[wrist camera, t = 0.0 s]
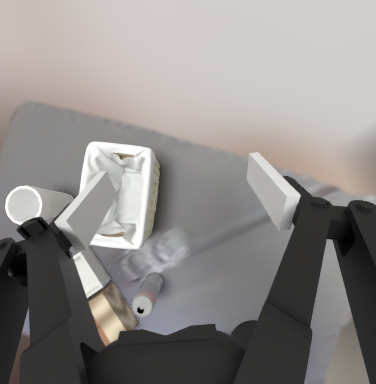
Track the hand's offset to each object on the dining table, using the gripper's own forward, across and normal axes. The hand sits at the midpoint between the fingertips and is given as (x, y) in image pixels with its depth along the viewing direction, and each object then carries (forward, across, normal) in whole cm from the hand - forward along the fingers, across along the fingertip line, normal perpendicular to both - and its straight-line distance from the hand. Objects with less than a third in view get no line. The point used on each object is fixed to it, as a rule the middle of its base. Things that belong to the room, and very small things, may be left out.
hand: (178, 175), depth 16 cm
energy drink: (+14, +14, +43) cm, 47 cm away
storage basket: (+29, +18, +21) cm, 40 cm away
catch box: (+15, +38, +40) cm, 57 cm away
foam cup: (+29, +40, +21) cm, 54 cm away
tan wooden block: (+8, +31, +50) cm, 59 cm away
